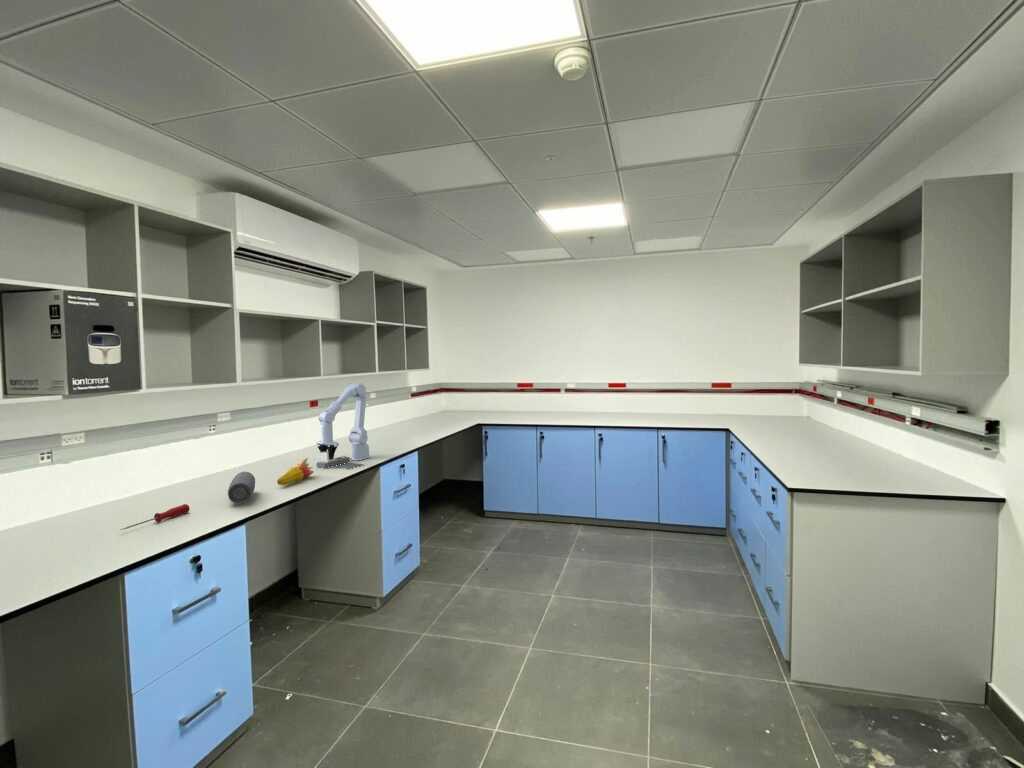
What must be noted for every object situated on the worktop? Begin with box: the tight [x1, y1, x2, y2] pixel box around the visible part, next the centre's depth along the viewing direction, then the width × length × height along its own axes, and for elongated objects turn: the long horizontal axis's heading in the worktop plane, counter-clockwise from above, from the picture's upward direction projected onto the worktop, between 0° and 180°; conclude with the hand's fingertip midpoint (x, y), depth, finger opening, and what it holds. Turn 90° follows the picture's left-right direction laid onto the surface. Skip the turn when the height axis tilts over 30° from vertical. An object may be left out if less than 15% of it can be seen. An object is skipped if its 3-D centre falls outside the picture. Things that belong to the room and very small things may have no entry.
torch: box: [276, 457, 314, 486], centre depth 235 cm, size 8×8×25 cm
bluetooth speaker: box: [227, 471, 256, 504], centre depth 206 cm, size 23×9×10 cm, turn 24°
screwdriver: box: [119, 503, 190, 531], centre depth 177 cm, size 4×25×4 cm, turn 165°
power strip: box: [316, 455, 351, 469], centre depth 272 cm, size 18×6×4 cm, turn 154°
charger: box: [320, 450, 335, 462], centre depth 268 cm, size 5×4×6 cm
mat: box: [332, 462, 364, 470], centre depth 268 cm, size 11×11×1 cm
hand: (327, 458), depth 268 cm, fingers closed on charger, 4 cm apart
